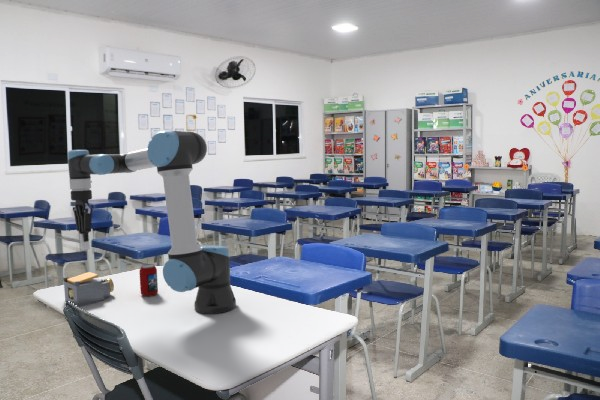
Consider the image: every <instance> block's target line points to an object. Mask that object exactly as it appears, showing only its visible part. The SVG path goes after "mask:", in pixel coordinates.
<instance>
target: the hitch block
mask: <svg viewBox="0 0 600 400" xmlns="http://www.w3.org/2000/svg"><path fill="white" fill-rule="evenodd" d="M67 279H69V277H68V276H64V277H62V282H63V288H64V290H63V291H64V301H65V302H67V301H70V302H72V303H74V304H75V305H77V306H79V307H83V306H87V305H91V304H94V303H95V304H96V303H100V302H103V301H104V299H107V298H111V292H110V283H109V282H104V283H103V280H104V279H103V278H102V279H98V278H97V277H96V278H93V279H90V280H87V281H85V282H82V283H79V281H75V282H74V284H73V283H71V282H68V281H67ZM72 289H73V298H70V296H69V290H72ZM75 305H74V306H75ZM77 306H76V307H77Z"/></svg>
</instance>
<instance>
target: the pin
mask: <svg viewBox="0 0 600 400" xmlns="http://www.w3.org/2000/svg"><path fill="white" fill-rule="evenodd" d="M102 280H103V283H104V282H109V283H110V293H113V291H114V288H115V286H114V282H113V280H112V278H110V277H109V278H104V279H102ZM69 296H70V298H73V289H72V290H69Z"/></svg>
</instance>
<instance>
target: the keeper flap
mask: <svg viewBox="0 0 600 400" xmlns="http://www.w3.org/2000/svg"><path fill="white" fill-rule="evenodd" d="M98 277H99V274H97V273H94V272H91V271H88V272H84V273H82V274H79V275H76V276H73V277H70V278H69V277H68V279H67V281H68V282H71V283H73V284H74V282H75V281H79V283H82V282H85V281H87V280H90V279H93V278H96V279H97V278H98Z"/></svg>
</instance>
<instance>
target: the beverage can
mask: <svg viewBox="0 0 600 400" xmlns="http://www.w3.org/2000/svg"><path fill="white" fill-rule="evenodd" d="M158 284H159V283H158V268H157V267H156V265H155V264H152V263H151V264H150V263H149V264H147V263H146V264H143V265H141V266H140V268H139V287H140V295H142V296H143V297H154V296H155V295H156V294H158V293H159V289H158V287H159V285H158Z"/></svg>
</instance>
